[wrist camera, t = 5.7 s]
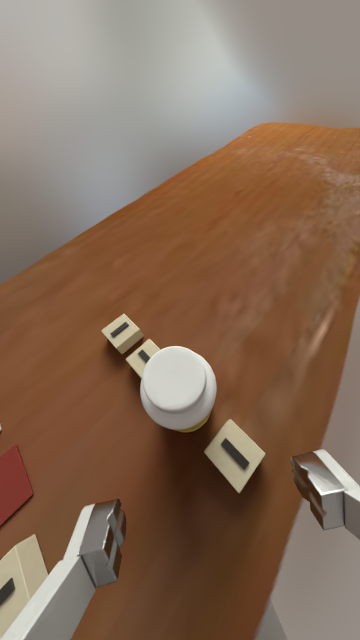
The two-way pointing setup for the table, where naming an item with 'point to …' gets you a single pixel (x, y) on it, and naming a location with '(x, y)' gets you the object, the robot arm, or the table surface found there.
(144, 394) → the supplement bottle
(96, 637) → the table surface
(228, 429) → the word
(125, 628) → the table surface
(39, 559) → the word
